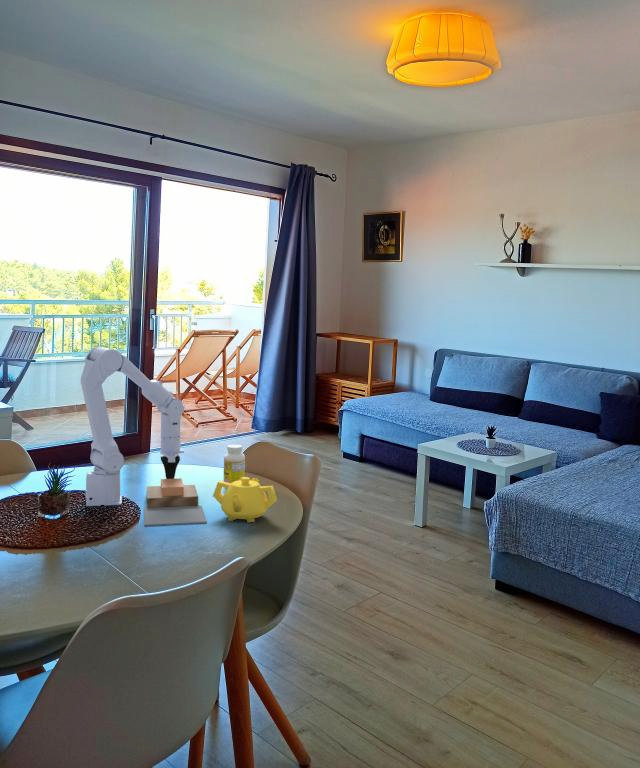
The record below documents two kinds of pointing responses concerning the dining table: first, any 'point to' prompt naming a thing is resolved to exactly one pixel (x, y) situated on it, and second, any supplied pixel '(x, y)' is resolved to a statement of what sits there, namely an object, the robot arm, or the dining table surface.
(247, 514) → the teapot
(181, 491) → the orange flat block
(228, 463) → the supplement bottle
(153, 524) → the mat
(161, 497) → the stand
